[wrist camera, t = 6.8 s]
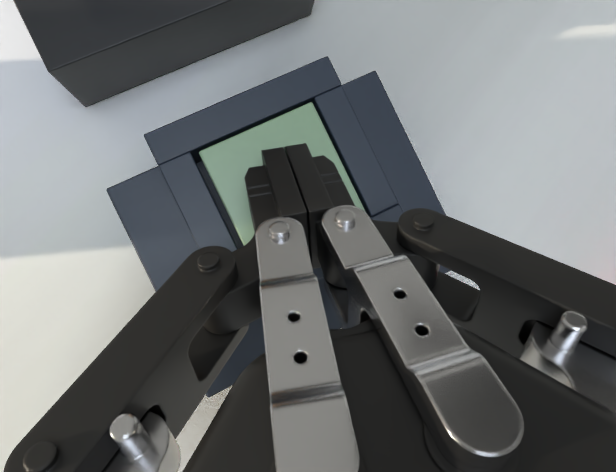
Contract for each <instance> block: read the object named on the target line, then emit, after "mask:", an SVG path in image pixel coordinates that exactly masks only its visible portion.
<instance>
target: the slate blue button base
mask: <svg viewBox="0 0 616 472" xmlns="http://www.w3.org/2000/svg"><path fill="white" fill-rule="evenodd" d="M310 102H312V103H313V105H314V107H315V109H316V111H317V113H318V115H319V117H320V119H321V121H322V123H323V125H324V127H325V129H326V132H327V134H328V136H329V138H330V140H331V142H332V144H333V146H334V148H335V150H336V152H337V154H338V156H339V158H340V160H341V162H342V164H343V166H344V168H345V170H346V173H347V175H348V177H349V179H350V181H351V183H352V185H353V187H354V189H355V191H356V193H357V195H358V197H359V199H360V201H361V203H362V205H363V207H364V209H365V212H366V213H367V214H368V216H369V217H370V219H373V220H377V221H389V222H398V220H399V217H400V216H401V214H403V213H404V212H406V211H407V210H410V209H415V208H425V209H430V210H433V211H436V212H438V213H441V214H443V215H445V212H444V210H443V208H442V206H441V204H440V202H439V200H438V198H437V196H436V194H435V192H434V190H433V188H432V186H431V184H430V182H429V180H428V178H427V176H426V173H425V171H424V169H423V167H422V165H421V163H420V161H419V159H418V157H417V155H416V153H415V151H414V149H413V147H412V145H411V143H410V141H409V139H408V137H407V134H406V132H405V130H404V128H403V126H402V124H401V122H400V120H399V118H398V116H397V114H396V112H395V110H394V108H393V106H392V104H391V102H390V100H389V97H388V95H387V93H386V91H385V89H384V87H383V85H382V83H381V81H380V79H379V77H378V75H377V73H376V71H373V72H371V73H368V74H366V75H364V76H361V77H359V78H357V79H355V80H352V81H350V82H348V83H346V84H343V85H341V82H340V80H339V78H338V76H337V74H336V72H335V70H334V68H333V66H332V64H331V62H330V60H329V58H328V56H327V57H324V58H322V59H319V60H317V61H315V62H312V63H310V64H308V65H305V66H303V67H301V68H298V69H296V70H294V71H291V72H289V73H287V74H284V75H282V76H280V77H277V78H275V79H273V80H270V81H268V82H266V83H263V84H261V85H259V86H256V87H254V88H252V89H249V90H247V91H245V92H242V93H240V94H238V95H235V96H233V97H231V98H228V99H226V100H224V101H221V102H219V103H217V104H214V105H212V106H210V107H207V108H205V109H203V110H200V111H198V112H196V113H193V114H191V115H189V116H186V117H184V118H182V119H179V120H177V121H175V122H172V123H170V124H168V125H165V126H163V127H161V128H158V129H156V130H154V131H151V132H149V133H147V134H145V135H144V137H145V139H146V141H147V143H148V145H149V148H150V150H151V152H152V154H153V156H154V158H155V160H156V162H157V164H158V165H159V166H157V167H155V168H153V169H150V170H148V171H146V172H144V173H141V174H139V175H137V176H135V177H132V178H130V179H128V180H125V181H123V182H121V183H119V184H116V185H114V186H112V187H110V188H108V189H107V193H108V195H109V197H110V199H111V201H112V203H113V205H114V207H115V209H116V211H117V213H118V215H119V217H120V219H121V221H122V223H123V225H124V228H125V230H126V232H127V234H128V236H129V238H130V240H131V242H132V244H133V246H134V248H135V250H136V252H137V254H138V256H139V258H140V260H141V262H142V264H143V266H144V268H145V270H146V273H147V275H148V277H149V279H150V281H151V283H152V285H153V287H154V289H155V291H156V292H157V290H158V289H159V288H160V287H161V286H162V285H163V284H164V283H165V282H166V281H167V279H168V278H169V277H170V276H171V275H172V274H173V273H174V272H175V271H176V270H177V268H178V267H179V266H180V265H181V264H182V263H183V262H184V261H185V260H186V258H187V257H188V256H189V255H190V254H192V253H193V252H194V251H196V250H198V249H201V248H203V247H207V246H221V247H225V248H227V249H229V250H230V251H231V252H233V251H235V250H237V249H239V248H241V247H243V246H244V245H243V243H242V241H241V239H240V237H239V235H238V233H237V231H236V229H235V227H234V225H233V223H232V221H231V219H230V216H229V214H228V212H227V210H226V208H225V206H224V204H223V202H222V200H221V198H220V196H219V194H218V192H217V190H216V188H215V186H214V184H213V182H212V180H211V178H210V176H209V173H208V171H207V169H206V167H205V165H204V163H203V161H202V159H201V157H200V154H199V152H200V151H201V150H204V149H206V148H208V147H210V146H213V145H215V144H217V143H219V142H222V141H224V140H226V139H229V138H231V137H233V136H235V135H238V134H240V133H242V132H244V131H247V130H249V129H251V128H253V127H256V126H258V125H260V124H262V123H265V122H267V121H269V120H272V119H274V118H276V117H278V116H281V115H283V114H285V113H287V112H290V111H292V110H294V109H296V108H299V107H301V106H303V105H305V104H308V103H310ZM439 271H440V272H442V273H444V274H445V273H447V272H448V271H450V270H449V269H447V268H445V267H443V266H441V265H440V266H439ZM313 273H314V275H316V276H317V279H318V283H319V288H320V292H321V297H322V301H323V305H324V310H325V314H326V319H327V323H328V327H329V329H340V328H342V326H341V324H340V322H339V319H338V317H337V315H336V313H335V310H334V308H333V306H332V304H331V302H330V299H329V297H328V295H327V293H326V290H325V288H324V279H323V272H322V269H321V267H320V268H315V269H313ZM263 353H265V342H264V331H263V321H262V317H261V318H259V319H257V320H255V321H253V322H251V323H249V328H248V331H247V332H246V334H245V336H244V337H243V339H242V340H241V342H240V343H239V345H238V346H237V348H236V349H235V351H234V352H233V354H232V355H231V357H230V358H229V360H228V361H227V363H226V364H225V366H224V367H223V369H222V370H221V372H220V373H219V375H218V376H217V378H216V379H215V381H214V382H213V384H212V385H211V387H210V388H209V390H208V391H207V393H206V395H207V397H211V396H213V395H215V394H217V393H218V392H220V391H222V390H224V389H226V388H228V387H230V386H232V385H234V383H235V381H236V380H237V378H238V377H239V375H240V374H241V373H242V372H243V370H244V369H245V368H246V367H247V366H248V365H249V364H250V363H251V362H252V361H254V360H255V359H256V358H257V357H259V356H260V355H262V354H263Z"/></svg>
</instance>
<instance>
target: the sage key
mask: <svg viewBox="0 0 616 472" xmlns="http://www.w3.org/2000/svg"><path fill="white" fill-rule="evenodd" d="M303 143H306V144H307V146H308V148H309V151H310V153H311V155H312V157H316V156H322V155H324V156H325V157H327V158H328V159H329V160H331V161H332V162H334V164H335V166H336V168H337V170H338V173H339V174H340V176H341V178H342V181H343V182H344V184H345V186H346V188H347V190H348V192H349V194H350V196H351V198H352V200H353V202H354V204H355V206H356V207H358V208H361V209H362V210H364V211H365V209H364V207H363V205H362V203H361V201H360V199H359V197H358V195H357V193H356V191H355V189H354V187H353V185H352V183H351V181H350V179H349V177H348V175H347V173H346V170H345V168H344V166H343V164H342V162H341V160H340V158H339V156H338V154H337V152H336V150H335V148H334V146H333V144H332V142H331V140H330V138H329V136H328V134H327V132H326V129H325V127H324V125H323V123H322V121H321V119H320V117H319V115H318V113H317V111H316V109H315V107H314V105H313V103H312V102H310V103H308V104H305V105H303V106H301V107H299V108H296V109H294V110H292V111H290V112H287V113H285V114H283V115H281V116H278V117H276V118H274V119H272V120H269V121H267V122H265V123H262V124H260V125H258V126H256V127H253V128H251V129H249V130H247V131H244V132H242V133H240V134H238V135H235V136H233V137H231V138H229V139H226V140H224V141H222V142H219V143H217V144H215V145H213V146H210V147H208V148H206V149H204V150H201V151H200V152H199V154H200V157H201V159H202V161H203V163H204V165H205V167H206V169H207V171H208V173H209V176H210V178H211V180H212V182H213V184H214V186H215V188H216V190H217V192H218V194H219V196H220V198H221V200H222V202H223V204H224V206H225V208H226V210H227V212H228V214H229V216H230V219H231V221H232V223H233V225H234V227H235V229H236V231H237V233H238V235H239V237H240V239H241V241H242V243H243V245H246V244H247V243H248V242H249V241H250V240H251V239H252V238H253V236H254V233H255V232H254V227H253V223H252V218H251V213H250V208H249V202H248V196H247V190H246V184H245V178H244V177H245V175H246V173H247V171H248V168H250V167H256V166H262V165H263V161H262V153H261V150H266V149H273V148H279V147H283V148H284V147H285V146H291V145H297V144H303Z"/></svg>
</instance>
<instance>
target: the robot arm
mask: <svg viewBox="0 0 616 472" xmlns="http://www.w3.org/2000/svg"><path fill="white" fill-rule="evenodd" d="M261 153H262V161H263V165H262V166H256V167H250V168H248V171H247V173H246V175H245V177H244V178H245V184H246V190H247V196H248V202H249V208H250V213H251V218H252V223H253V227H254V232H255V233H254V236H253V238H252V239H251V240H250V241H249V242H248V243H247V244H246V245H244V246H243V247H241V248H239V249H237V250H235V251H233V252H231V251H230V250H229V249H227V248H225V247H221V246H207V247H203V248H201V249H198V250H196V251H194V252H193V253H192V254H190V255H189V256H188V257H187V258H186V260H185V261H184V262H183V263H182V264H181V265H180V266H179V267H178V268H177V270H176V271H175V272H174V273H173V274H172V275H171V276H170V277H169V278H168V279H167V281H166V282H165V283H164V284H163V285H162V286H161V287H160V288H159V289H158V290H157V292H156V293H155V294H154V295H153V296H152V297H151V298H150V299H149V300H148V301H147V303H146V304H145V305H144V306H143V307H142V308H141V309H140V310H139V311H138V312H137V314H136V315H135V316H134V317H133V318H132V319H131V320H130V321H129V322H128V324H127V325H126V326H125V327H124V328H123V329H122V330H121V331H120V332H119V333H118V335H117V336H116V337H115V338H114V339H113V340H112V341H111V342H110V343H109V344H108V346H107V347H106V348H105V349H104V350H103V351H102V352H101V353H100V354H99V355H98V357H97V358H96V359H95V360H94V361H93V362H92V363H91V364H90V365H89V366H88V368H87V369H86V370H85V371H84V372H83V373H82V374H81V375H80V376H79V377H78V379H77V380H76V381H75V382H74V383H73V384H72V385H71V386H70V387H69V389H68V390H67V391H66V392H65V393H64V394H63V395H62V396H61V397H60V398H59V400H58V401H57V402H56V403H55V404H54V405H53V406H52V407H51V408H50V409H49V411H48V412H47V413H46V414H45V415H44V416H43V417H42V418H41V419H40V420H39V422H38V423H37V424H36V425H35V426H34V427H33V428H32V429H31V430H30V431H29V433H28V434H27V435H26V436H25V437H24V438H23V439H22V440H21V441H20V443H19V444H18V445H17V446H16V447H15V448H14V450H13V451H12V453H11V454H10V456H9V458H8V460H7V462H6V465H5V468H4V472H177V471H178V469H179V466H180V461H181V452H180V448H179V445H178V443H177V441H176V440H175V439H176V438H177V436H178V435H179V433H180V432H181V430H182V429H183V427H184V426H185V424H186V423H187V421H188V420H189V418H190V417H191V415H192V414H193V412H194V411H195V409H196V408H197V406H198V405H199V403H200V402H201V400H202V399H203V397H204V396H205V394H206V393H207V391H208V390H209V388H210V387H211V385H212V384H213V382H214V381H215V379H216V378H217V376H218V375H219V373H220V372H221V370H222V369H223V367H224V366H225V364H226V363H227V361H228V360H229V358H230V357H231V355H232V354H233V352H234V351H235V349H236V348H237V346H238V345H239V343H240V342H241V340H242V339H243V337H244V336H245V334H246V332H247V331H248V328H249V323H251V322H253V321H255V320H257V319H259V318H261V317H262V321H263V331H264V342H265V353H263V354H262V355H260V356H259V357H257V358H256V359H255V360H254V361H252V362H251V363H250V364H249V365H248V366H247V367H246V368H245V369H244V370H243V372H242V373H241V374H240V375H239V377H238V378H237V380H236V381H235V383H234V385H233V386H232V388H231V390H230V391H229V393H228V395H227V397H226V398H225V400H224V402H223V403H222V405H221V407H220V409H219V410H218V412H217V414H216V415H215V417H214V419H213V421H212V422H211V424H210V426H209V427H208V429H207V431H206V433H205V434H204V436H203V438H202V439H201V441H200V443H199V445H198V446H197V448H196V450H195V451H194V453H193V455H192V457H191V458H190V460H189V462H188V463H187V465H186V467H185V469H184V470H183V472H616V285H614V284H612V283H609V282H607V281H604V280H602V279H600V278H597V277H595V276H592V275H590V274H587V273H585V272H582V271H580V270H578V269H575V268H573V267H570V266H568V265H565V264H563V263H560V262H558V261H556V260H553V259H551V258H548V257H546V256H543V255H541V254H538V253H536V252H534V251H531V250H529V249H526V248H524V247H521V246H519V245H516V244H514V243H512V242H509V241H507V240H504V239H502V238H499V237H497V236H495V235H492V234H490V233H487V232H485V231H482V230H480V229H477V228H475V227H473V226H470V225H468V224H465V223H463V222H460V221H458V220H455V219H453V218H451V217H448V216H446V215H443V214H441V213H438V212H436V211H433V210H430V209H425V208H415V209H410V210H407V211H406V212H404V213H403V214H401V216H400V217H399V220H398V222H389V221H377V220H373V219H370V217H369V216H368V214H367V213H366V212H365V211H364V210H362V209H361V208H358V207H356V206H355V204H354V202H353V200H352V198H351V196H350V194H349V192H348V190H347V188H346V186H345V184H344V182H343V181H342V178H341V176H340V174H339V173H338V170H337V168H336V166H335V164H334V162H332V161H331V160H329V159H328V158H327V157H325V156H324V155H322V156H316V157H312V155H311V153H310V151H309V148H308V146H307V144H306V143H303V144H297V145H291V146H285V147H284V148H283V147H279V148H273V149H266V150H261ZM440 265H441V266H443V267H445V268H447V269H449V270H452V271H454V272H456V273H458V274H460V275H462V276H464V277H467V278H469V279H471V280H472V281H474V282H475V283H476V284H477V285H478V286H479V288H480V290H477V289H475V288H473V287H471V286H469V285H467V284H465V283H463V282H461V281H459V280H457V279H454V278H452V277H450V276H448V275H446V274H444V273H442V272H440V271H439V266H440ZM320 267H321V269H322V272H323V279H324V288H325V290H326V293H327V295H328V297H329V299H330V302H331V304H332V306H333V308H334V310H335V313H336V315H337V317H338V319H339V322H340V324H341V326H342V328H343V329H329V327H328V323H327V319H326V314H325V310H324V305H323V301H322V297H321V292H320V288H319V283H318V279H317V276H316V275H314V273H313V269H315V268H320Z"/></svg>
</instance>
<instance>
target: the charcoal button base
mask: <svg viewBox="0 0 616 472" xmlns="http://www.w3.org/2000/svg"><path fill="white" fill-rule="evenodd" d="M14 3H15V5H16V7H17V9H18V11H19V13H20V15H21V17H22V19H23V21H24V23H25V25H26V27H27V29H28V31H29V33H30V35H31V37H32V39H33V41H34V43H35V45H36V48H37V50H38V52H39V54H40V56H41V58H42V60H43V62H44V64H45V66H46V68H47V70H48V72H49V73H50V74H51V75H53V76H54V77H55V78H56V79H57V80H58V81H59V82H60V83H61V84H62V85H63V86H64V87H65V88H66V89H67V90H68V91H69V92H70V93H71V94H73V95H74V96H75V97H76V98H77V99H78V100H79V101H80V102H81V103H82V104H83V105H84V106H85V107H86V106H89V105H91V104H94V103H96V102H99V101H101V100H103V99H106V98H108V97H111V96H113V95H116V94H118V93H120V92H123V91H125V90H128V89H130V88H133V87H135V86H137V85H140V84H142V83H145V82H147V81H150V80H152V79H155V78H157V77H159V76H162V75H164V74H167V73H169V72H172V71H174V70H176V69H179V68H181V67H184V66H186V65H189V64H191V63H193V62H196V61H198V60H201V59H203V58H206V57H208V56H210V55H213V54H215V53H218V52H220V51H223V50H225V49H227V48H230V47H232V46H235V45H237V44H240V43H242V42H245V41H247V40H249V39H252V38H254V37H257V36H259V35H262V34H264V33H266V32H269V31H271V30H274V29H276V28H279V27H281V26H283V25H286V24H288V23H291V22H293V21H296V20H298V19H300V18H303V17H305V16H308V15H310V14H311V11H312V7H313V3H314V0H14Z"/></svg>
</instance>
